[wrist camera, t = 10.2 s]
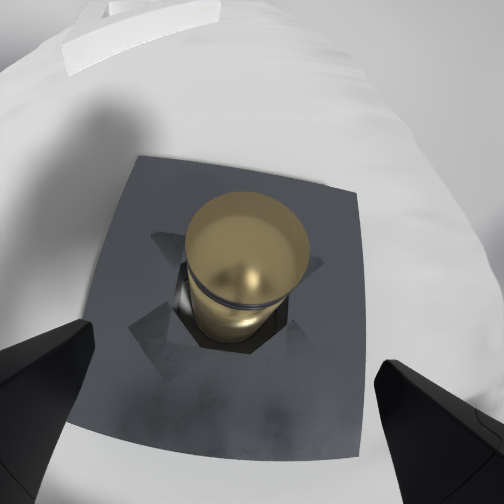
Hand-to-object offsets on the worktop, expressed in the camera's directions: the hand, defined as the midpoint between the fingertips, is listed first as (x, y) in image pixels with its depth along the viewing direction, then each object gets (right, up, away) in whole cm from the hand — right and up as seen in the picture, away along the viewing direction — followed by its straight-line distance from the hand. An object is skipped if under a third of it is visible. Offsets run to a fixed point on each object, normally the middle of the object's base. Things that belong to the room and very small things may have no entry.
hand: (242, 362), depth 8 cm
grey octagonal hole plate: (-1, -1, +13) cm, 13 cm away
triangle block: (-24, +39, +29) cm, 54 cm away
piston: (-1, -1, +13) cm, 13 cm away
